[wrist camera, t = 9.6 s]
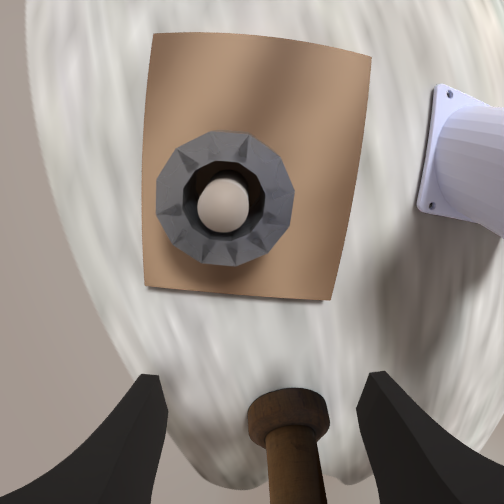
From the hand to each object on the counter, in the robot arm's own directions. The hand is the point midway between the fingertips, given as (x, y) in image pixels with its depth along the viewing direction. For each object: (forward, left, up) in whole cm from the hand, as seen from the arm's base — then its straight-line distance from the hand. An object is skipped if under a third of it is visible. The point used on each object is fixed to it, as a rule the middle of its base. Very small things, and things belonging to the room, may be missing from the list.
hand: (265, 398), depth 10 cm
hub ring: (+2, -5, -8) cm, 10 cm away
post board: (+1, -6, -9) cm, 11 cm away
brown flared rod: (-4, +13, -10) cm, 17 cm away
